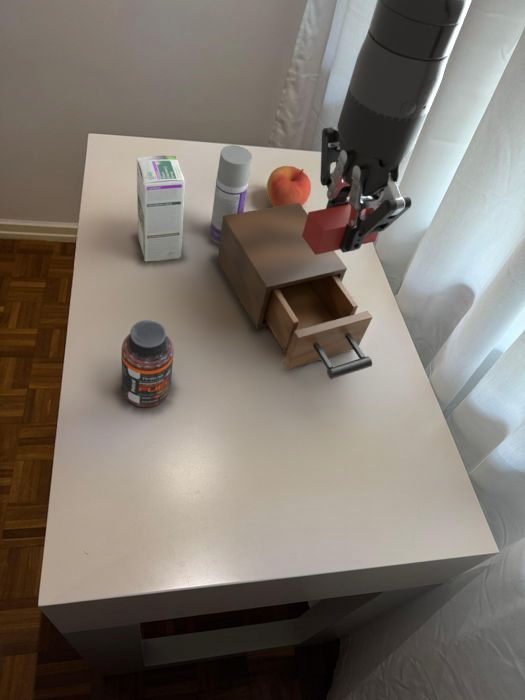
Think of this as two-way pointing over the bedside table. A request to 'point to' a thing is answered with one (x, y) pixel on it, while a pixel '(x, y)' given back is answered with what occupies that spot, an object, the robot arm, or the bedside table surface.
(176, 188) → the syrup box
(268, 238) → the cabinet
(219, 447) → the bedside table surface
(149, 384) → the supplement bottle
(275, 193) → the apple
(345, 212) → the red rectangular brick
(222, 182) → the container
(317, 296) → the drawer
